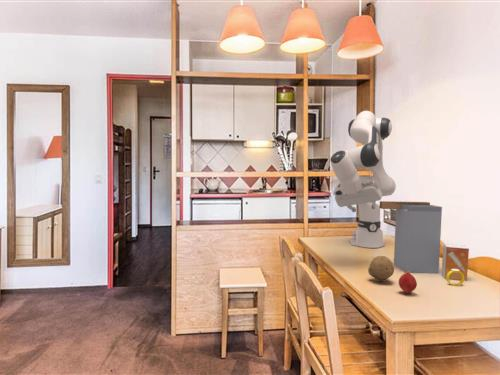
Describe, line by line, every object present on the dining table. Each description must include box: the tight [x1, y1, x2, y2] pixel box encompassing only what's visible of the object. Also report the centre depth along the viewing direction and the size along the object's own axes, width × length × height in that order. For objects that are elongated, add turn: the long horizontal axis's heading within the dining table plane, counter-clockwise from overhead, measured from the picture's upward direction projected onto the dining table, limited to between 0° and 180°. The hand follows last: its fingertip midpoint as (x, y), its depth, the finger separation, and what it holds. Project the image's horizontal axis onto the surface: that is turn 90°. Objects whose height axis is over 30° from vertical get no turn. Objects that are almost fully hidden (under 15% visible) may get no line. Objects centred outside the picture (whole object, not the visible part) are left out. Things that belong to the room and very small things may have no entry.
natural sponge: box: [367, 255, 395, 282], centre depth 141 cm, size 9×9×10 cm
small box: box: [441, 243, 470, 282], centre depth 148 cm, size 8×6×13 cm
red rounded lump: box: [398, 271, 418, 294], centre depth 129 cm, size 6×6×8 cm
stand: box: [393, 204, 443, 274], centre depth 159 cm, size 12×14×28 cm
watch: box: [446, 269, 464, 286], centre depth 139 cm, size 6×3×6 cm, turn 87°
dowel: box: [379, 200, 431, 210], centre depth 161 cm, size 3×21×3 cm, turn 92°
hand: (364, 209), depth 166 cm, fingers open, 8 cm apart
